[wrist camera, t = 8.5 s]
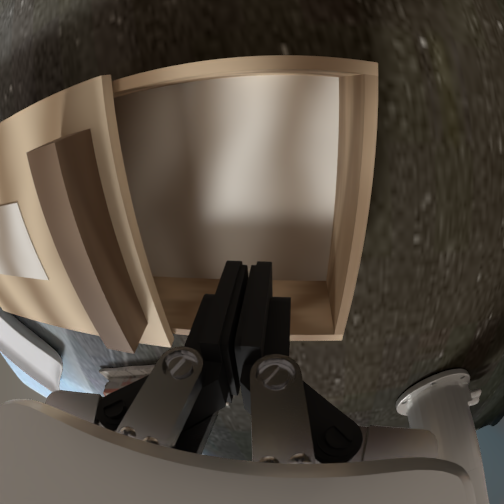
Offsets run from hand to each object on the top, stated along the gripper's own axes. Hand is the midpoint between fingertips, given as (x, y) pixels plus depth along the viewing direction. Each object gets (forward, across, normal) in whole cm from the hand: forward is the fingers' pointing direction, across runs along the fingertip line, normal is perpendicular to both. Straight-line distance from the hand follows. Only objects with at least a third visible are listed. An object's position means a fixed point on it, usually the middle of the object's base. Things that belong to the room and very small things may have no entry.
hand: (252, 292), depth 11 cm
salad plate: (+10, +46, +25) cm, 53 cm away
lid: (+3, +17, -1) cm, 17 cm away
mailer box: (+9, +5, -1) cm, 11 cm away
